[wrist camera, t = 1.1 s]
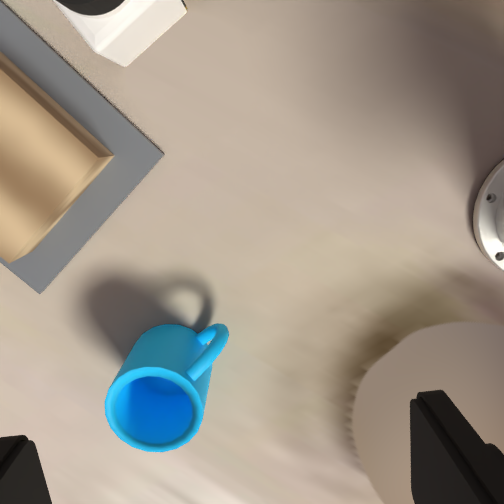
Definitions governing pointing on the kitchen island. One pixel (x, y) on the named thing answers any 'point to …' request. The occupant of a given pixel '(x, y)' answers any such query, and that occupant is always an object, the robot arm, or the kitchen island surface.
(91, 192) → the grey square mat
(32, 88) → the oak block
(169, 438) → the mug
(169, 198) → the kitchen island surface
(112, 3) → the medicine bottle
